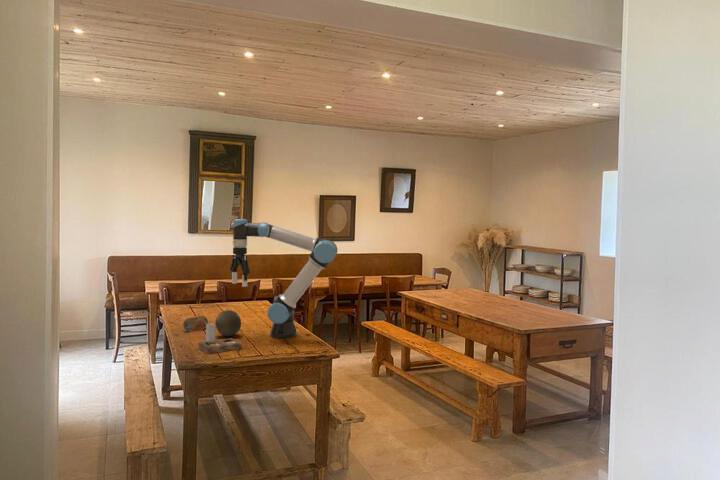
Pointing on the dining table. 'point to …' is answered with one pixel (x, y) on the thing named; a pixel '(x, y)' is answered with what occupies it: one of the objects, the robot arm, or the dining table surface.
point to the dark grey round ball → (228, 323)
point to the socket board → (220, 346)
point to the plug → (210, 333)
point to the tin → (195, 323)
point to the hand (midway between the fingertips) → (239, 285)
